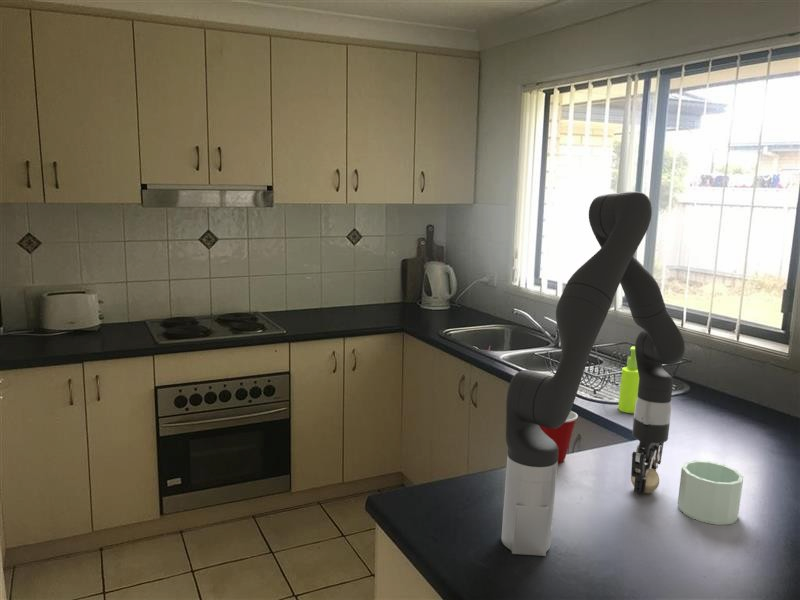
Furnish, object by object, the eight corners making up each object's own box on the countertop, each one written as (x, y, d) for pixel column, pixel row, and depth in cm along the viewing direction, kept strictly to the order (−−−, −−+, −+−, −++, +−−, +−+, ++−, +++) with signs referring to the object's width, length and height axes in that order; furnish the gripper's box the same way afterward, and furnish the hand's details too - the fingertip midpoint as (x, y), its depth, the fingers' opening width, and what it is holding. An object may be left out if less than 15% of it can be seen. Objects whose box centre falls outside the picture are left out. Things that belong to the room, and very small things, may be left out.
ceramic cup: (747, 526, 137) (753, 485, 136) (689, 523, 138) (694, 482, 136) (723, 500, 149) (728, 462, 147) (670, 497, 149) (674, 459, 148)
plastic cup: (542, 446, 176) (546, 403, 174) (581, 458, 169) (585, 413, 167) (522, 458, 167) (525, 412, 165) (561, 471, 161) (566, 423, 159)
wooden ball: (661, 498, 149) (664, 473, 148) (634, 496, 149) (636, 471, 148) (653, 486, 154) (655, 462, 153) (626, 485, 155) (629, 460, 154)
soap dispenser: (640, 408, 210) (647, 346, 207) (635, 414, 205) (642, 351, 201) (621, 404, 214) (627, 343, 210) (616, 410, 208) (622, 347, 204)
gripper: (646, 406, 156) (638, 474, 159) (623, 421, 145) (615, 493, 148) (679, 414, 152) (671, 483, 155) (658, 430, 141) (649, 504, 144)
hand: (644, 488), depth 151 cm, fingers closed on wooden ball, 6 cm apart
